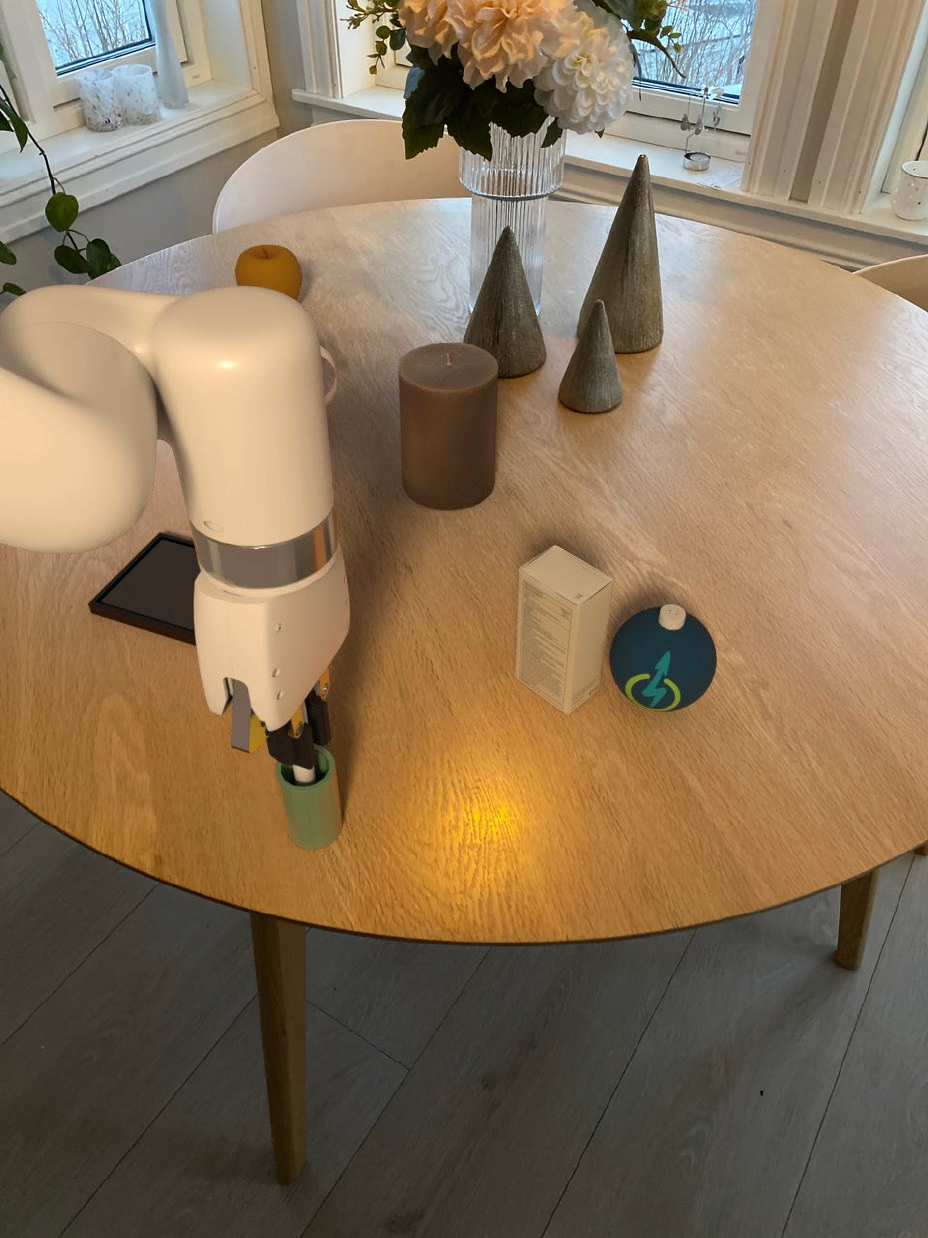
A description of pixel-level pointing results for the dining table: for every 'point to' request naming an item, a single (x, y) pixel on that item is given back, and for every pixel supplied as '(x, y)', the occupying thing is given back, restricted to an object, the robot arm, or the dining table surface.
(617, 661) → the christmas ornament
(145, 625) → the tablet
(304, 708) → the stylus
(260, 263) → the apple
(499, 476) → the dining table surface
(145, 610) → the screen
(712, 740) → the dining table surface
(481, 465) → the pillar candle
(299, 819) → the pen pot
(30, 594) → the dining table surface
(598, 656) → the cosmetic box
